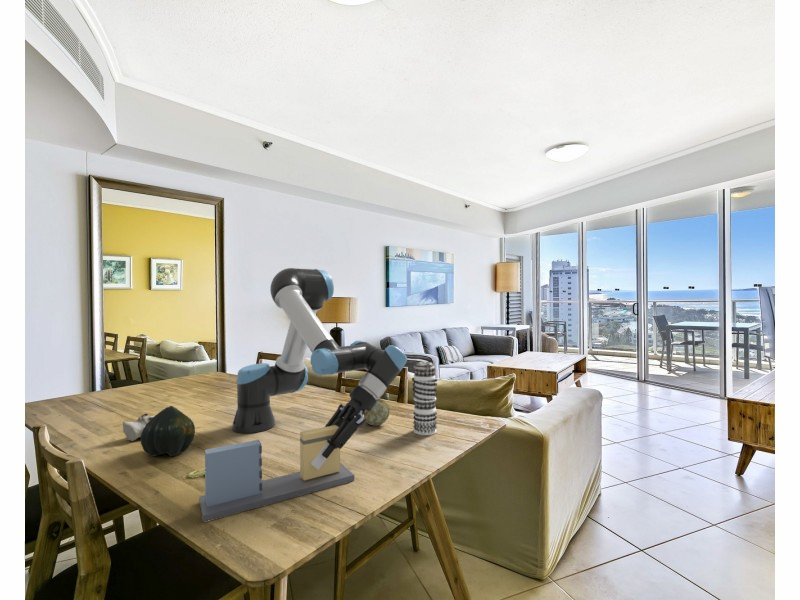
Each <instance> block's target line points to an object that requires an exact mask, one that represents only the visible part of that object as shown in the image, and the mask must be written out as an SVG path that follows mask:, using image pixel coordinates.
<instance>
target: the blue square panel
mask: <svg viewBox="0 0 800 600" xmlns="http://www.w3.org/2000/svg"><path fill="white" fill-rule="evenodd" d="M262 449H263V447H262V442H261V441H260V440H259V439H256V440H250V441H244V442H239V443H233V444H229V445H224V446H218V447H212V448H209V449H204V467H205V470H204V471H205V476H204V487H205V489H204V492H205V493H204V495H205V502H206V506H207V507H209V506H213V505H217V504H221V503H225V502H229V501H232V500H236V499H240V498H244V497H248V496H252V495H255V494H259V493H262V481H263V480H262V479H263V470H262V466H263V458H262V453H263V452H262V451H263V450H262Z"/></svg>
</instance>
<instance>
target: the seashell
mask: <svg viewBox="0 0 800 600" xmlns="http://www.w3.org/2000/svg"><path fill="white" fill-rule="evenodd" d="M376 402H377V403H376V404H375V405H374V407H373V408H372V409H371V410H370V411H366V410H365V412H364V414H363V418H364V419H365V420H366V421H365V422H366V423H367V424H368V425H370V426H380V425H382V424H384V423H386V421H387V420H388V419H389V417H390V411H391V409H390V406H389V404H388V402H386V401H385V400H384V399H381V398H379V399H376Z"/></svg>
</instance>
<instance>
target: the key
mask: <svg viewBox="0 0 800 600" xmlns="http://www.w3.org/2000/svg"><path fill="white" fill-rule="evenodd" d="M202 469H205V466H204V467H202ZM197 470H198V469H195V470H194V471H191V472H190V473H188V477H189V476H190V477H196V476H201V475H205V470H203V471H200V472H197V473H195V474H193V473H194V472H196V471H197ZM199 470H201V468H199Z"/></svg>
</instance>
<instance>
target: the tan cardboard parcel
mask: <svg viewBox="0 0 800 600" xmlns="http://www.w3.org/2000/svg"><path fill="white" fill-rule="evenodd" d="M338 428H339V427H338V426H336V425H333V426H328V427H325V426H323V427H317V428H313V429H308V430H302V431H300V432H299V448H300V449H299V455H300V456H299V463H300V464H299V466H300V469H299V470H300V471H299V472H300V476H301V478H302V479H303V480H304V481H305V480H308V479H312V478H316V477H320V476H324V475H328V474H332V473H336V472H339V471H340V463H341V449H339V448H337V449H334V450H333V452H332V453H331V454H330V456H329V457H328V458H327V459H326V461H325V462H324V463H323V465H322V466H321V467H320V468H319V470H318V469H316V468H315V467H314V466H313V465H311V464H310V463H311V462H312V460H313V459H314V458H315V456H316V455H317V454H318V453H319V451H320V450H321V449H322V448H323V446H324V445H325V444H326V442H327V440H331V439H332V437H333V436H334V434H335V433H336V431H337V430H338ZM327 443H328V442H327Z"/></svg>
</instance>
